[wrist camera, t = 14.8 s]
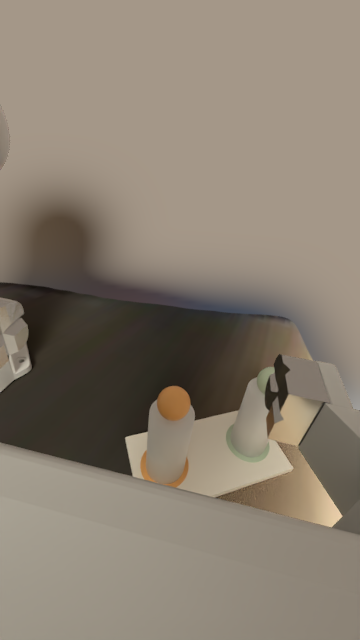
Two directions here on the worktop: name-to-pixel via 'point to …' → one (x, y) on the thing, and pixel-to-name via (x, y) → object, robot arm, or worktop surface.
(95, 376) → the worktop surface
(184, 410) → the orange ball tube
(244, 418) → the green ball tube
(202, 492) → the card
